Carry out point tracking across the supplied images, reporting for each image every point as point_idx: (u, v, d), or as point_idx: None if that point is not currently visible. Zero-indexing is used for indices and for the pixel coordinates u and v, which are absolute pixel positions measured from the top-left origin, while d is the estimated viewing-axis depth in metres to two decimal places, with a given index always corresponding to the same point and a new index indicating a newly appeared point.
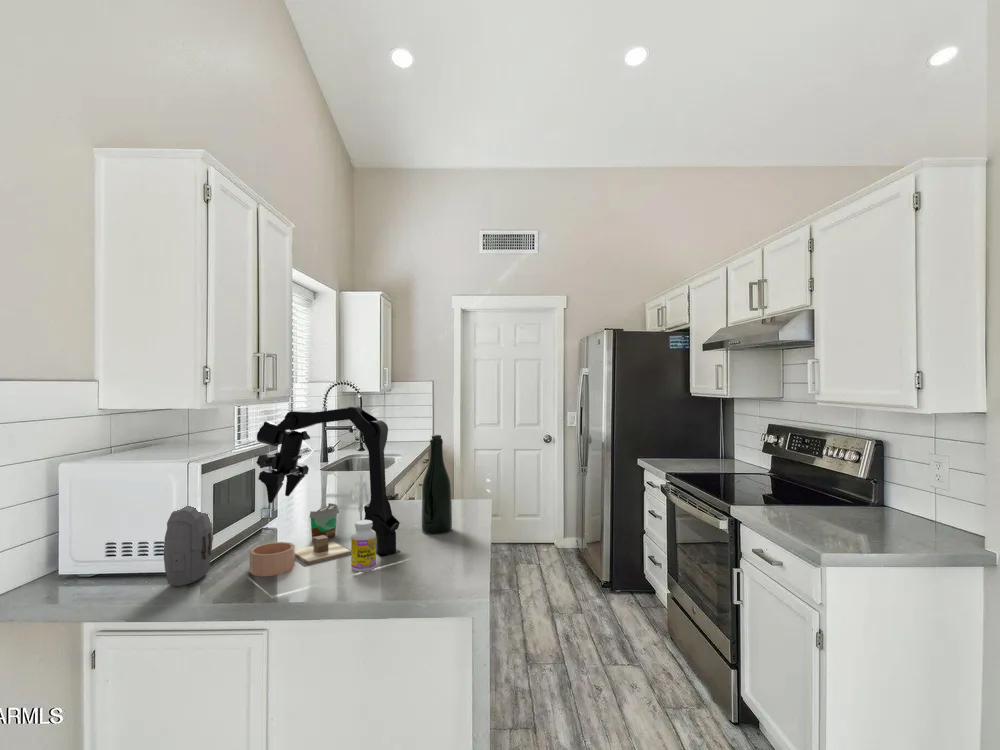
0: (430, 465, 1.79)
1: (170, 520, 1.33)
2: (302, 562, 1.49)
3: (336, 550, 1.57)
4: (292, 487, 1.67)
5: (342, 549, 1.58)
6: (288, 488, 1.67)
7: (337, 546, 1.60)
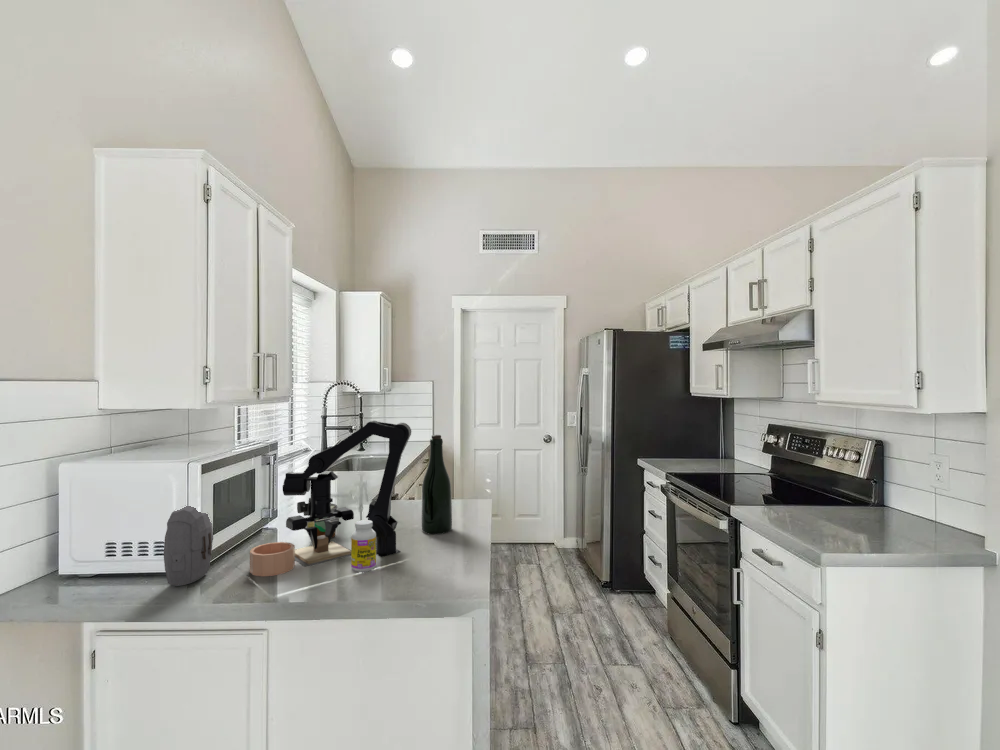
0: (430, 465, 1.79)
1: (170, 520, 1.33)
2: (302, 562, 1.49)
3: (336, 550, 1.57)
4: (328, 536, 1.57)
5: (342, 549, 1.58)
6: None
7: (337, 546, 1.60)
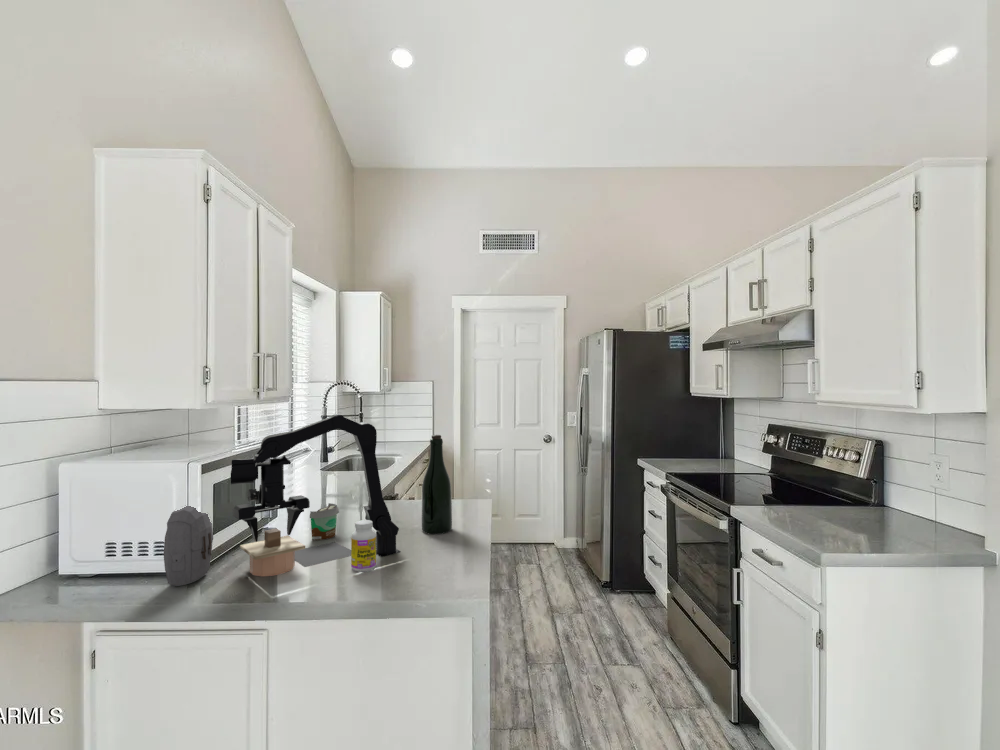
0: (430, 465, 1.79)
1: (170, 520, 1.33)
2: (302, 562, 1.49)
3: (289, 545, 1.45)
4: (290, 524, 1.46)
5: (296, 544, 1.45)
6: (288, 526, 1.47)
7: (291, 541, 1.48)
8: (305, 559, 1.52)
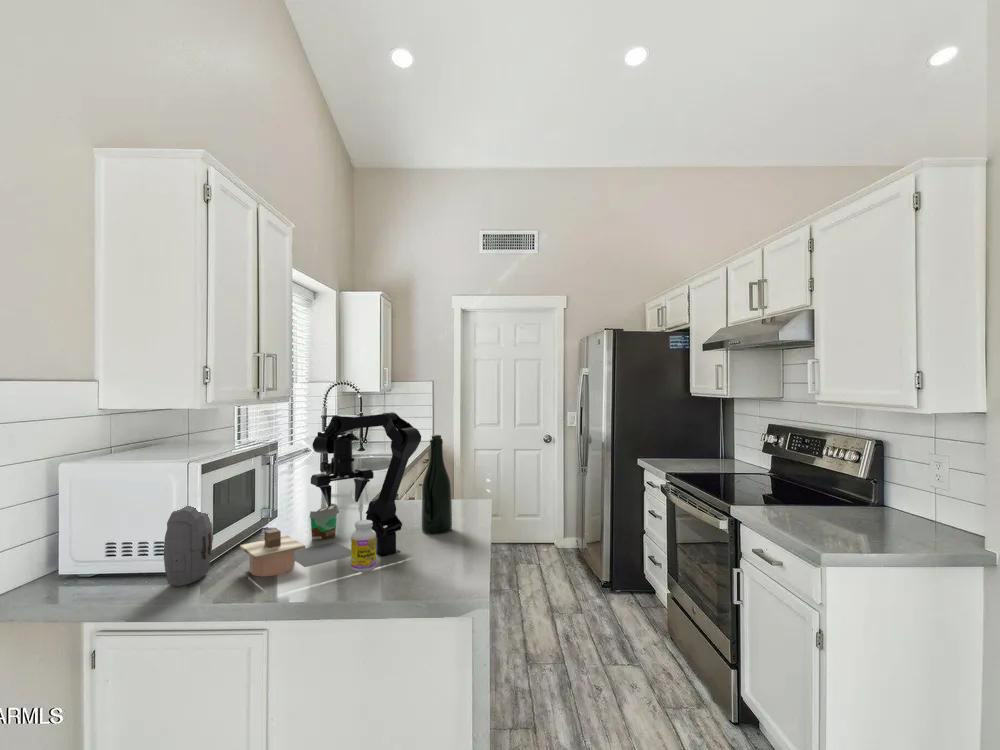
0: (430, 465, 1.79)
1: (170, 520, 1.33)
2: (302, 562, 1.49)
3: (289, 545, 1.45)
4: (358, 492, 1.68)
5: (296, 544, 1.45)
6: (356, 494, 1.69)
7: (291, 541, 1.48)
8: (305, 559, 1.52)
